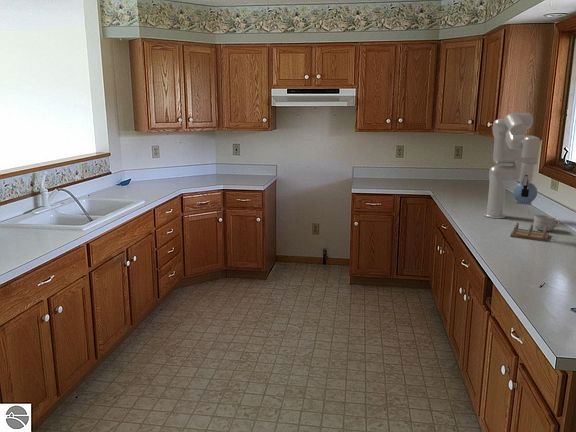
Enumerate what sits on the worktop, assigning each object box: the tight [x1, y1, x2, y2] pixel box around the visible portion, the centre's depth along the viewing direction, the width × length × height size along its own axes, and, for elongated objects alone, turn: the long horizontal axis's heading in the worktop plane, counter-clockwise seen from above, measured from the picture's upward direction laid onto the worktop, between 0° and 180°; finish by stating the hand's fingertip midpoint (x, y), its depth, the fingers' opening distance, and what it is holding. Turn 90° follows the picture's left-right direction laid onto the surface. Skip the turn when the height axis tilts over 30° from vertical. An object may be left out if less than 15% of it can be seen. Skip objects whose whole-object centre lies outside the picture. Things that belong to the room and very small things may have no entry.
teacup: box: [533, 214, 561, 232], centre depth 269 cm, size 14×11×8 cm
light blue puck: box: [513, 182, 538, 206], centre depth 254 cm, size 2×11×12 cm, turn 58°
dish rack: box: [510, 222, 550, 242], centre depth 258 cm, size 15×17×5 cm
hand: (525, 196), depth 254 cm, fingers closed on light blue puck, 2 cm apart
